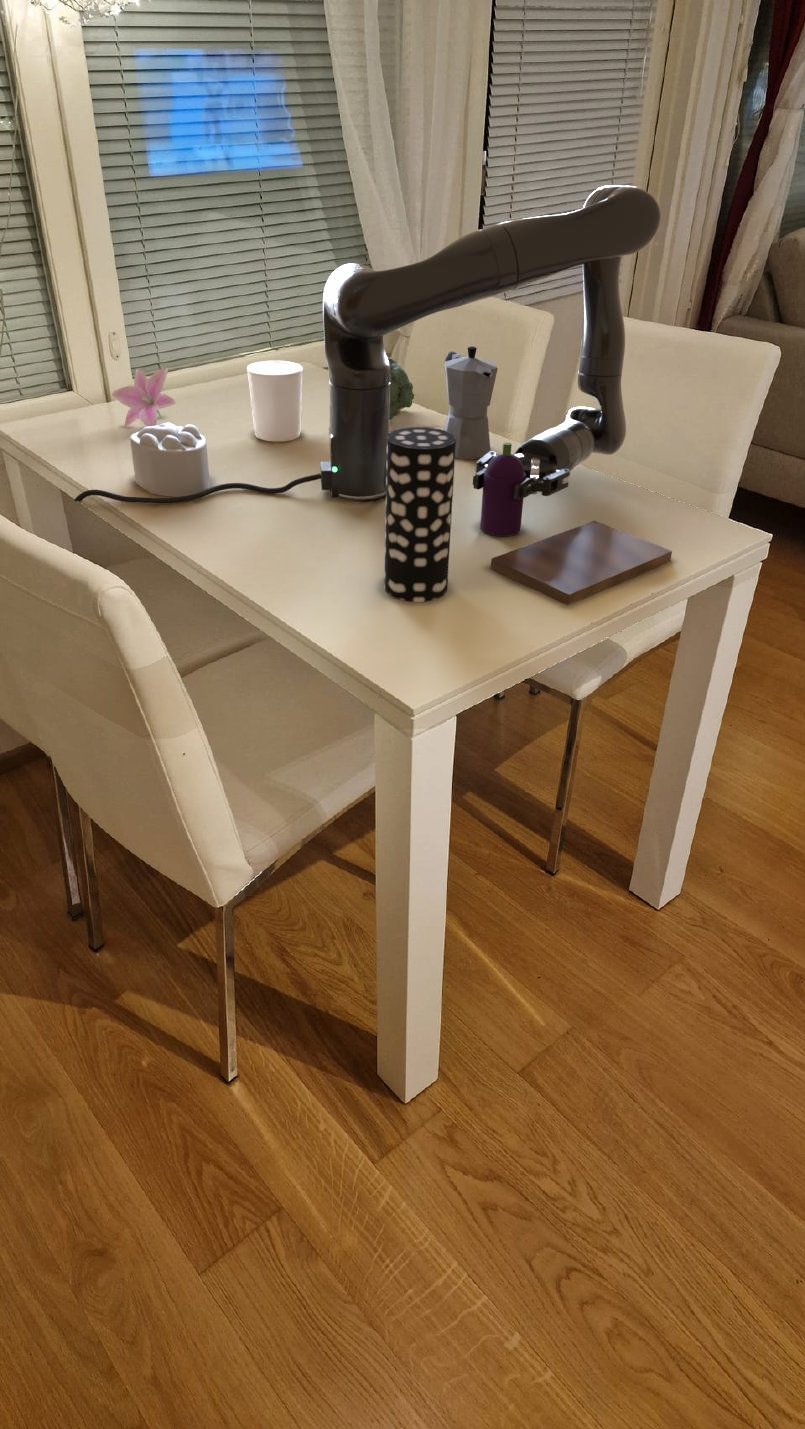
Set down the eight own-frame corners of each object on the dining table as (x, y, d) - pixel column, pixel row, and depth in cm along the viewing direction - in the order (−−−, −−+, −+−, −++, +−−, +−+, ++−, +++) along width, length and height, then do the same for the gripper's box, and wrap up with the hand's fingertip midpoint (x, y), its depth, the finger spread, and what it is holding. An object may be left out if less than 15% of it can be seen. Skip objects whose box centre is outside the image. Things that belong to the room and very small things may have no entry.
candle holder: (315, 433, 182) (313, 366, 175) (282, 447, 175) (279, 378, 168) (273, 423, 186) (270, 357, 179) (239, 436, 179) (235, 368, 172)
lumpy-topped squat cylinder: (183, 465, 165) (177, 414, 160) (225, 487, 157) (221, 434, 152) (127, 479, 159) (120, 426, 155) (168, 502, 151) (162, 447, 147)
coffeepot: (506, 459, 172) (516, 353, 162) (459, 466, 169) (465, 358, 159) (465, 433, 184) (472, 333, 174) (420, 439, 180) (424, 336, 170)
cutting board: (567, 605, 126) (569, 594, 125) (490, 568, 135) (491, 558, 134) (670, 561, 138) (672, 551, 138) (593, 529, 147) (594, 520, 146)
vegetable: (439, 404, 191) (407, 386, 178) (390, 447, 196) (356, 432, 182) (406, 357, 193) (373, 335, 180) (359, 400, 198) (323, 382, 185)
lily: (113, 422, 187) (96, 384, 179) (163, 389, 190) (148, 350, 182) (149, 456, 183) (133, 419, 174) (199, 422, 186) (186, 384, 177)
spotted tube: (382, 574, 132) (384, 427, 121) (443, 573, 133) (451, 427, 122) (386, 602, 125) (389, 449, 114) (450, 601, 126) (460, 449, 115)
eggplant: (483, 536, 144) (490, 451, 137) (477, 520, 149) (482, 437, 141) (524, 535, 144) (532, 450, 137) (515, 519, 149) (523, 436, 142)
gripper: (510, 423, 154) (454, 451, 142) (594, 442, 147) (543, 473, 135) (506, 470, 158) (451, 501, 146) (588, 490, 151) (537, 524, 140)
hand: (496, 487), depth 141 cm, fingers closed on eggplant, 6 cm apart
